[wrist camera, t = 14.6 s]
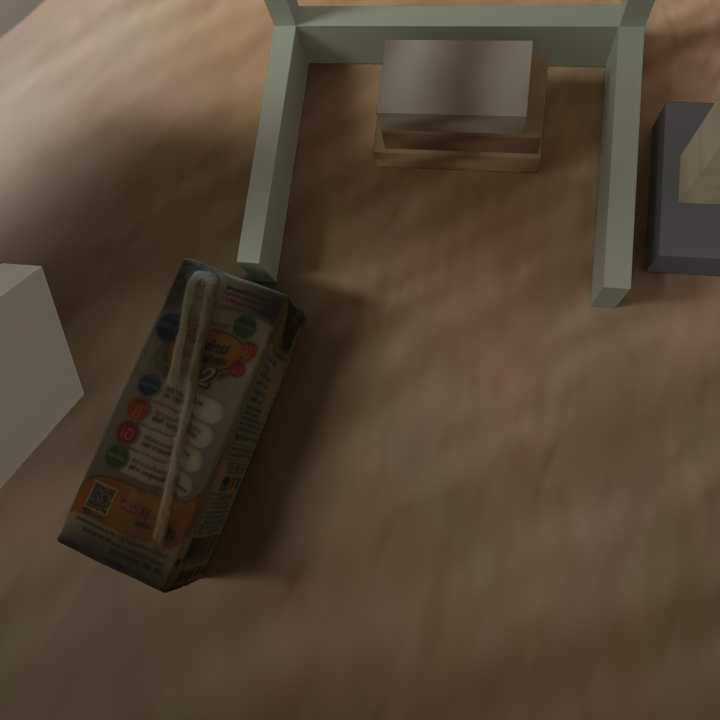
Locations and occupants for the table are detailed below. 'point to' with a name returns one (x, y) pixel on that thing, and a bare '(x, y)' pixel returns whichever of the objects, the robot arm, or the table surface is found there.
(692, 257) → the rubber block
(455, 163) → the offcut stack
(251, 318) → the beverage carton
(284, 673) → the table surface
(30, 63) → the table surface
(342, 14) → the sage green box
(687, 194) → the birch block
